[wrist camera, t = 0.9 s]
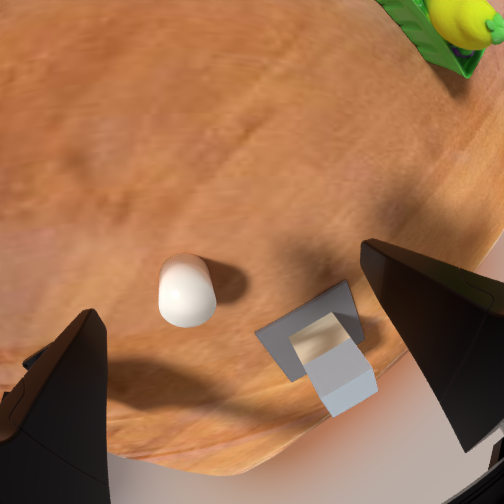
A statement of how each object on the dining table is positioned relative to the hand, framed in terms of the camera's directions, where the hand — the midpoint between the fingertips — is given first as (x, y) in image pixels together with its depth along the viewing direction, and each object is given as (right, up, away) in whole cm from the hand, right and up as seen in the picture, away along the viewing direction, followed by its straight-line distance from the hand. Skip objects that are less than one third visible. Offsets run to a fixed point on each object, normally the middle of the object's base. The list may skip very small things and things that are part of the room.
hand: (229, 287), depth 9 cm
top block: (+8, -10, +18) cm, 22 cm away
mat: (+7, -8, +21) cm, 24 cm away
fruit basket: (+14, +22, +8) cm, 28 cm away
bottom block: (+8, -8, +21) cm, 24 cm away
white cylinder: (-5, -1, +15) cm, 15 cm away
